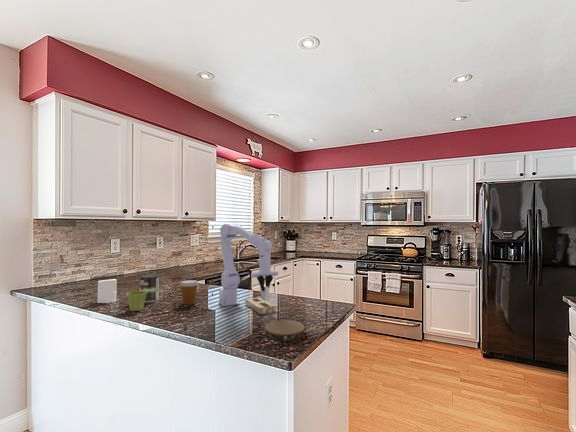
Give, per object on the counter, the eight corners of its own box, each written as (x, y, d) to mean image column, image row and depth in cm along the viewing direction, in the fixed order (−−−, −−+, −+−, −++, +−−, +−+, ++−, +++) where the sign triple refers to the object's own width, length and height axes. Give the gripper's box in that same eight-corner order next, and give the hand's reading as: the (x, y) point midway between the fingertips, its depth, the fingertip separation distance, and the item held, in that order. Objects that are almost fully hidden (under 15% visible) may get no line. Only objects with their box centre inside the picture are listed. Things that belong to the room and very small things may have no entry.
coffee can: (148, 303, 164) (148, 277, 165) (134, 301, 168) (135, 276, 169) (162, 299, 174) (163, 274, 174) (149, 297, 178) (149, 273, 178)
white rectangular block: (99, 304, 162) (99, 282, 162) (96, 301, 168) (96, 280, 169) (117, 301, 168) (118, 280, 168) (114, 298, 174) (114, 278, 175)
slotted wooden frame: (260, 314, 145) (260, 308, 145) (245, 304, 162) (245, 299, 163) (276, 311, 149) (276, 305, 149) (260, 302, 167) (260, 297, 167)
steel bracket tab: (264, 301, 150) (265, 287, 150) (260, 298, 154) (261, 285, 154) (268, 300, 151) (268, 286, 151) (264, 298, 155) (264, 284, 155)
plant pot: (121, 311, 149) (122, 293, 149) (137, 306, 158) (137, 290, 158) (135, 313, 146) (136, 295, 146) (150, 308, 155) (151, 291, 155)
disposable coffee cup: (187, 306, 159) (187, 283, 159) (176, 303, 164) (176, 281, 164) (201, 302, 167) (201, 280, 167) (190, 300, 172) (190, 279, 172)
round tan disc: (309, 330, 124) (309, 323, 124) (295, 344, 109) (295, 336, 109) (275, 325, 130) (275, 318, 130) (257, 337, 116) (257, 329, 116)
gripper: (254, 265, 146) (254, 293, 146) (281, 263, 153) (280, 290, 153) (249, 264, 152) (249, 290, 152) (274, 262, 159) (274, 287, 159)
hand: (264, 290), depth 153 cm, fingers closed on steel bracket tab, 2 cm apart
